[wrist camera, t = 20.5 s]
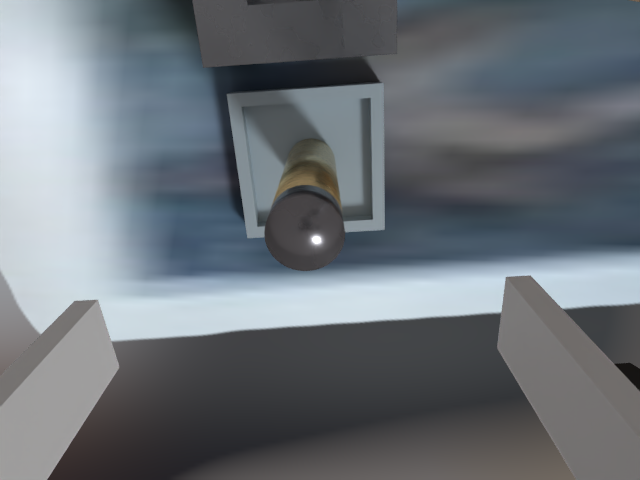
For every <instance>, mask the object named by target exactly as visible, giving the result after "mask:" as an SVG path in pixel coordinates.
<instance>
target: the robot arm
mask: <svg viewBox="0 0 640 480" xmlns="http://www.w3.org/2000/svg"><path fill="white" fill-rule="evenodd" d="M497 348H498V350H499V352H500V353H501V355H502V357H503V358H504V360H505V362H506V364H507V365H508V367H509V368H510V370H511V372H512V374H513V375H514V377H515V379H516V380H517V382H518V384H519V385H520V387H521V389H522V390H523V392H524V394H525V395H526V397H527V398H528V400H529V402H530V404H531V405H532V407H533V409H534V410H535V412H536V414H537V415H538V417H539V419H540V420H541V422H542V424H543V425H544V427H545V429H546V430H547V432H548V434H549V435H550V437H551V439H552V440H553V442H554V444H555V445H556V447H557V449H558V450H559V452H560V454H561V455H562V457H563V459H564V460H565V462H566V464H567V465H568V467H569V469H570V470H571V472H572V474H573V475H574V477H575V479H576V480H640V369H639V368H638V367H636V366H634V365H633V364H631V363H623V364H614V363H612V362H611V361H610V359H609V358H608V357H607V356H606V355H605V354H604V353H603V352H602V351H601V350H600V349H599V348H598V347H597V345H595V343H594V342H593V341H592V340H591V339H590V338H589V337H588V336H587V335H586V334H585V333H584V332H583V331H582V330H581V329H580V328H579V327H578V325H577V324H576V323H575V322H574V321H573V320H572V319H571V318H570V317H569V316H568V315H567V314H566V313H565V312H564V311H563V310H562V308H561V307H560V306H559V305H558V304H557V303H556V302H555V301H554V300H553V299H552V298H551V297H550V296H549V295H548V294H547V293H546V292H545V290H544V289H543V288H542V287H541V286H540V285H539V284H538V283H537V282H536V281H535V280H534V279H533V278H532V277H531V276H515V277H506V281H505V289H504V297H503V305H502V313H501V321H500V330H499V337H498V346H497ZM118 369H119V364H118V361H117V358H116V355H115V352H114V349H113V346H112V342H111V339H110V336H109V333H108V330H107V327H106V324H105V321H104V317H103V314H102V311H101V308H100V305H99V302H98V300H85V301H74V302H73V303H72V304H71V305H70V306H69V307H68V308H67V309H66V310H65V311H64V312H63V313H62V314H61V315H60V316H59V317H58V318H57V319H56V320H55V321H54V322H53V323H52V324H51V325H50V326H49V327H48V328H47V329H46V330H45V331H44V332H43V333H42V334H41V335H40V336H39V337H38V338H37V339H36V340H35V341H34V342H33V343H32V344H31V345H30V346H29V347H28V349H26V350H25V351H24V352H23V353H22V354H21V355H20V357H18V358H17V359H16V360H15V361H14V362H13V363H12V364H11V366H10V367H8V368H7V369H6V370H5V371H4V372H3V374H1V376H0V480H47V479H48V477H49V476H50V474H51V473H52V471H53V469H54V468H55V466H56V464H57V463H58V462H59V460H60V459H61V457H62V455H63V453H64V452H65V451H66V449H67V448H68V446H69V444H70V443H71V441H72V440H73V438H74V437H75V435H76V434H77V432H78V430H79V429H80V427H81V426H82V424H83V423H84V421H85V420H86V418H87V416H88V415H89V414H90V412H91V410H92V409H93V407H94V406H95V404H96V403H97V401H98V400H99V398H100V397H101V395H102V393H103V392H104V390H105V389H106V387H107V386H108V384H109V382H110V381H111V379H112V378H113V376H114V375H115V373H116V372H117V370H118Z"/></svg>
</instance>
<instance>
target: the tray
mask: <svg viewBox="0 0 640 480" xmlns="http://www.w3.org/2000/svg"><path fill="white" fill-rule="evenodd" d="M227 100H228V107H229V114H230V121H231V128H232V134H233V141H234V148H235V155H236V162H237V169H238V176H239V183H240V190H241V197H242V204H243V211H244V217H245V224H246V231H247V238H258V237H265V234H264V231H265V225H266V221H267V218H268V215H269V212H270V209H271V206H272V203H273V200H274V197H275V194H276V191H277V188H278V185H279V182H280V179H281V176H282V173H283V170H284V167H285V164H286V161H287V158H288V155H289V153H290V151H291V149H292V148H293V146H294V145H295V144H297V143H298V142H300V141H302V140H304V139H309V138H313V139H318V140H321V141H323V142H325V143H326V144H327V145H328V146H329V147H330V148H331V150H332V152H333V154H334V157H335V164H336V171H337V178H338V185H339V192H340V200H341V207H342V214H343V221H344V229H345V232H355V231H372V230H385V211H384V83H382V82H367V83H353V84H339V85H324V86H310V87H296V88H282V89H267V90H253V91H239V92H231V93H228V94H227Z"/></svg>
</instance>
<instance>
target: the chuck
mask: <svg viewBox="0 0 640 480" xmlns="http://www.w3.org/2000/svg"><path fill="white" fill-rule="evenodd" d="M192 2H193V8H194V14H195V20H196V26H197V33H198V39H199V45H200V51H201V57H202V63H203V68H205V67H219V66H233V65H247V64H261V63H275V62H289V61H303V60H317V59H331V58H345V57H359V56H373V55H387V54H397V0H192Z"/></svg>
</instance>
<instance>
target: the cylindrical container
mask: <svg viewBox="0 0 640 480" xmlns="http://www.w3.org/2000/svg"><path fill="white" fill-rule="evenodd" d="M264 234H265V242H266V245H267V247H268V249H269V251H270V253H271V254H272V256H273V257H274V258H275V259H276V260H277V261H279V262H280V263H281V264H283V265H284V266H286V267H289V268H291V269H295V270H300V271H310V270H316V269H319V268H322V267H324V266H326V265H328V264H329V263H331V262H332V261H333V260H334V259H335V258H336V257H337V256H338V254H339V253H340V251H341V249H342V247H343V244H344V240H345V229H344V221H343V214H342V207H341V200H340V192H339V185H338V178H337V171H336V164H335V157H334V154H333V152H332V150H331V148H330V147H329V146H328V145H327V144H326V143H325V142H323V141H321V140H318V139H313V138H309V139H304V140H302V141H300V142H298V143H297V144H295V145H294V146H293V148H292V149H291V151H290V153H289V155H288V158H287V161H286V164H285V167H284V170H283V173H282V176H281V179H280V182H279V185H278V188H277V191H276V194H275V197H274V200H273V203H272V206H271V209H270V212H269V215H268V218H267V221H266V225H265V231H264Z"/></svg>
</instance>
